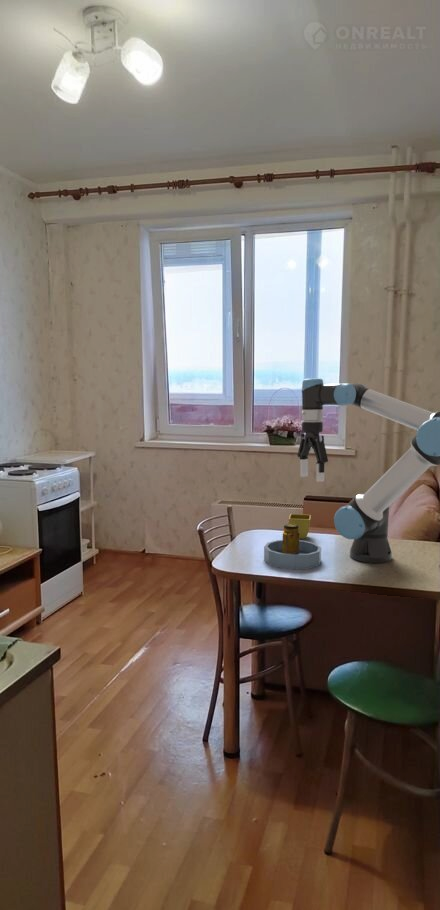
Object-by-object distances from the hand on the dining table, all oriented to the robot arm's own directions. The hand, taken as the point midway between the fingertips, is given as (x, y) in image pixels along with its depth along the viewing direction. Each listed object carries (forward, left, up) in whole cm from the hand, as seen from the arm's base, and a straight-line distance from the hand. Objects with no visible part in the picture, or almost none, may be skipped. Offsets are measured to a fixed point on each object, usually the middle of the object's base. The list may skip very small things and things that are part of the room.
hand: (312, 479), depth 215 cm
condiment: (+8, +4, -28) cm, 30 cm away
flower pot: (-6, -26, -29) cm, 40 cm away
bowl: (+8, +4, -29) cm, 31 cm away
